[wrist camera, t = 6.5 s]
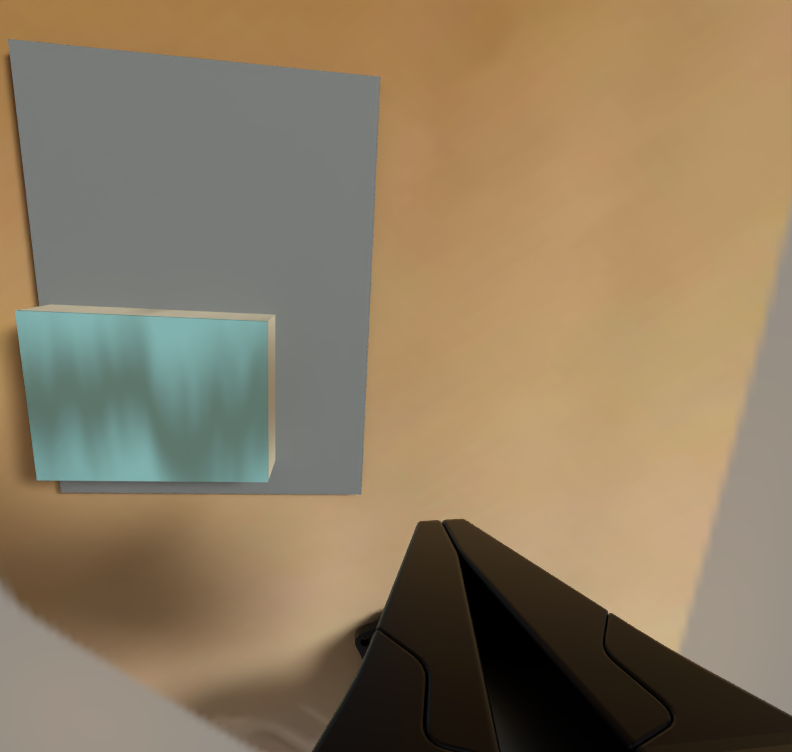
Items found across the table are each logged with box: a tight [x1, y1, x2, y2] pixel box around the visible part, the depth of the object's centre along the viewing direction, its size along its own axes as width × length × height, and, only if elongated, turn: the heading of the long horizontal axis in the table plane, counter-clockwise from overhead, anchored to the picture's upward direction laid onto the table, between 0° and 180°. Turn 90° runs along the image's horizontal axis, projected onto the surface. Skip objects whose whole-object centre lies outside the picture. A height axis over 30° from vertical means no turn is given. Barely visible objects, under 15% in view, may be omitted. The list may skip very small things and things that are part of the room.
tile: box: [15, 304, 275, 482], centre depth 18 cm, size 6×2×8 cm
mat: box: [8, 39, 380, 495], centre depth 18 cm, size 16×12×1 cm
